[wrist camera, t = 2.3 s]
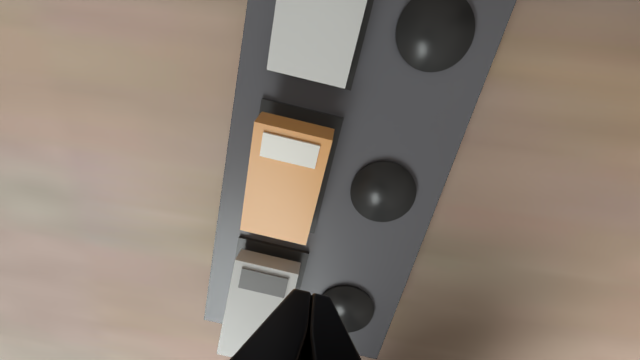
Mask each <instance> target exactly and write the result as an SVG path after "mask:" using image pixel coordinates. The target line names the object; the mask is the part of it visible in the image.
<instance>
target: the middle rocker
mask: <svg viewBox="0 0 640 360" xmlns="http://www.w3.org/2000/svg"><path fill="white" fill-rule="evenodd" d="M333 135H334V129H333V128H328V127H324V126H320V125H316V124H312V123H308V122H304V121H299V120H295V119H291V118H287V117H283V116H279V115H275V114H271V113H266V112H261V113H260V115H259V116H258V117H257V119H256V120H255V121H254V127H253V134H252V142H251V150H250V157H249V165H248V172H247V180H246V188H245V195H244V203H243V211H242V218H241V226H240V230H242V231H246V232H250V233H255V234H259V235H263V236H267V237H272V238H276V239H280V240H284V241H289V242H293V243H297V244H301V245H306V243H307V239H308V235H309V231H310V227H311V223H312V219H313V215H314V212H315V208H316V204H317V200H318V196H319V192H320V188H321V184H322V180H323V176H324V172H325V168H326V164H327V160H328V157H329V153H330V149H331V145H332V141H333Z"/></svg>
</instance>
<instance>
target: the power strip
mask: <svg viewBox="0 0 640 360" xmlns="http://www.w3.org/2000/svg"><path fill="white" fill-rule="evenodd" d="M515 3H516V0H367V4H366V8H365V12H364V15H363V19H362V23H361V27H360V31H359V35H358V39H357V43H356V47H355V51H354V55H353V59H352V63H351V67H350V71H349V75H348V79H347V83H346V87H345V89H344V88H340V87H336V86H332V85H327V84H323V83H319V82H315V81H311V80H307V79H303V78H299V77H295V76H291V75H286V74H282V73H278V72H274V71H270V70H267V63H268V55H269V48H270V41H271V34H272V27H273V19H274V12H275V5H276V0H248V2H247V10H246V17H245V24H244V32H243V39H242V46H241V53H240V61H239V68H238V75H237V83H236V90H235V97H234V104H233V112H232V119H231V126H230V134H229V141H228V148H227V155H226V163H225V170H224V177H223V185H222V192H221V199H220V206H219V214H218V221H217V228H216V235H215V243H214V250H213V257H212V265H211V272H210V279H209V286H208V294H207V301H206V308H205V316H204V320H208V321H212V322H217V323H221V324H223V319H224V314H225V308H226V303H227V298H228V293H229V288H230V283H231V278H232V273H233V268H234V262H235V259H236V257H237V256H238V254H239V252H240V251H241V249H244V250H249V251H253V252H257V253H262V254H266V255H270V256H274V257H279V258H283V259H287V260H292V261H296V262H300V263H301V265H300V270H299V275H298V279H297V283H296V287H295V289H300V290H304V291H308V292H310V293H311V295H312V294H313V293H317V294H321V295H326V296H329V297H330V298H331V299H332V301H333V303H334V305H335V307H336V309H337V311H338V313H339V315H340V317H341V319H342V321H343V323H344V325H345V327H346V329H347V332H348V334H349V336H350V338H351V340H352V342H353V344H354V346H355V348H356V350H357V352H358V354H359V355H361V356H365V357H369V358H374V359H377V357H378V354H379V352H380V349H381V347H382V344H383V341H384V339H385V336H386V334H387V331H388V329H389V326H390V323H391V321H392V318H393V316H394V313H395V311H396V308H397V305H398V303H399V300H400V298H401V295H402V293H403V290H404V288H405V285H406V282H407V280H408V277H409V275H410V272H411V270H412V267H413V264H414V262H415V259H416V257H417V254H418V252H419V249H420V246H421V244H422V241H423V239H424V236H425V234H426V231H427V229H428V226H429V223H430V221H431V218H432V216H433V213H434V211H435V208H436V205H437V203H438V200H439V198H440V195H441V193H442V190H443V187H444V185H445V182H446V180H447V177H448V175H449V172H450V170H451V167H452V164H453V162H454V159H455V157H456V154H457V152H458V149H459V146H460V144H461V141H462V139H463V136H464V134H465V131H466V128H467V126H468V123H469V121H470V118H471V116H472V113H473V111H474V108H475V105H476V103H477V100H478V98H479V95H480V93H481V90H482V87H483V85H484V82H485V80H486V77H487V75H488V72H489V69H490V67H491V64H492V62H493V59H494V57H495V54H496V52H497V49H498V46H499V44H500V41H501V39H502V36H503V34H504V31H505V28H506V26H507V23H508V21H509V18H510V16H511V13H512V10H513V8H514V5H515ZM261 112H266V113H271V114H275V115H279V116H283V117H287V118H291V119H295V120H299V121H304V122H308V123H312V124H316V125H320V126H324V127H328V128H333V129H334V135H333V141H332V145H331V149H330V153H329V157H328V160H327V164H326V168H325V172H324V176H323V180H322V184H321V188H320V192H319V196H318V200H317V204H316V208H315V212H314V215H313V219H312V223H311V227H310V231H309V235H308V239H307V243H306V245H301V244H297V243H293V242H289V241H284V240H280V239H276V238H272V237H267V236H263V235H259V234H255V233H250V232H246V231H242V230H240V226H241V218H242V211H243V203H244V195H245V188H246V180H247V172H248V165H249V157H250V150H251V142H252V134H253V127H254V121H255V120H256V119H257V117H258V116H259V115H260V113H261Z"/></svg>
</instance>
